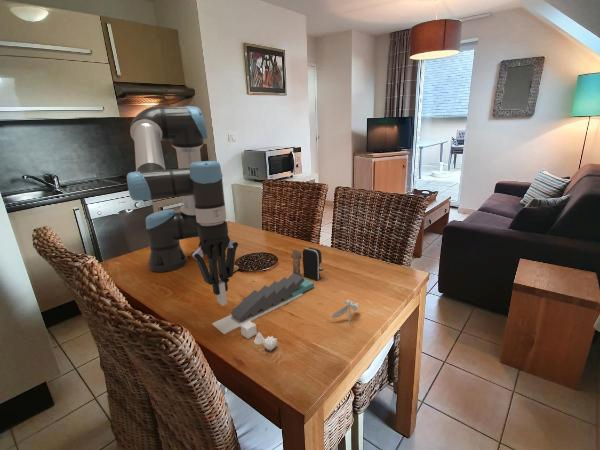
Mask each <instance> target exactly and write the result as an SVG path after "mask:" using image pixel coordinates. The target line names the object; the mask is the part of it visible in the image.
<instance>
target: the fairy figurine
mask: <svg viewBox="0 0 600 450" xmlns="http://www.w3.org/2000/svg"><path fill="white" fill-rule="evenodd" d="M359 308H360V306H359V302H357V303H355V302H354V301H353V300H350V299H346V301H345V306H344V307H342V308H341V309H339V310H338V311H336V312H334V314H332V315H331V318H337V317H341V316H343V315H344V314H346V312H347V310H348V325H351V319H352V316H351V315H352V313H351V309H352V310H353V311H358V310H359Z"/></svg>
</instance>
